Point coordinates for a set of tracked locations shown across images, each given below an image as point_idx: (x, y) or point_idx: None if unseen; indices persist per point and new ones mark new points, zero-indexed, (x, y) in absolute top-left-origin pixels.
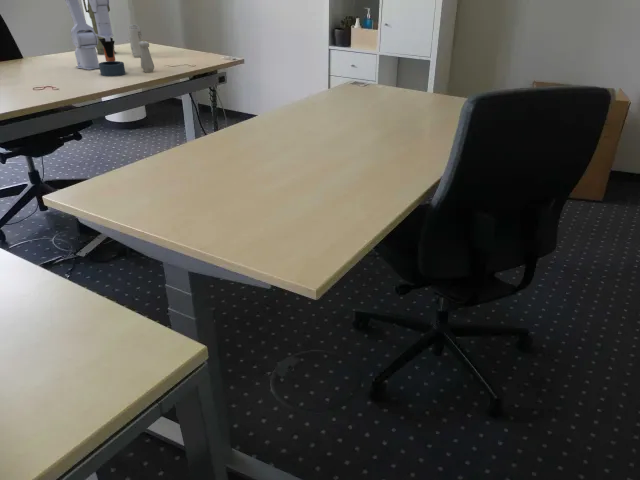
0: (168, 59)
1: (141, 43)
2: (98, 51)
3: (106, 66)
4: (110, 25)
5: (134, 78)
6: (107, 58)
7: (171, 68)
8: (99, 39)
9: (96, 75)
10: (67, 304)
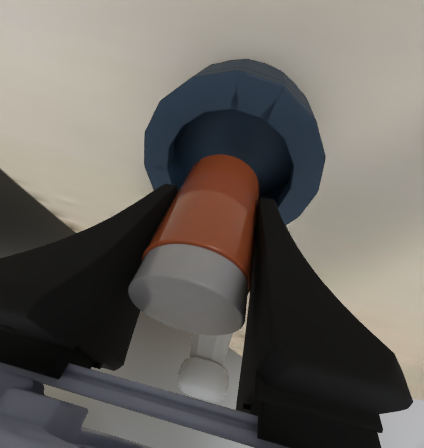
0: (401, 355)
1: (181, 380)
2: None
3: (151, 121)
4: None
5: (108, 197)
6: (189, 175)
7: (247, 311)
8: (291, 367)
9: (233, 7)
10: None
